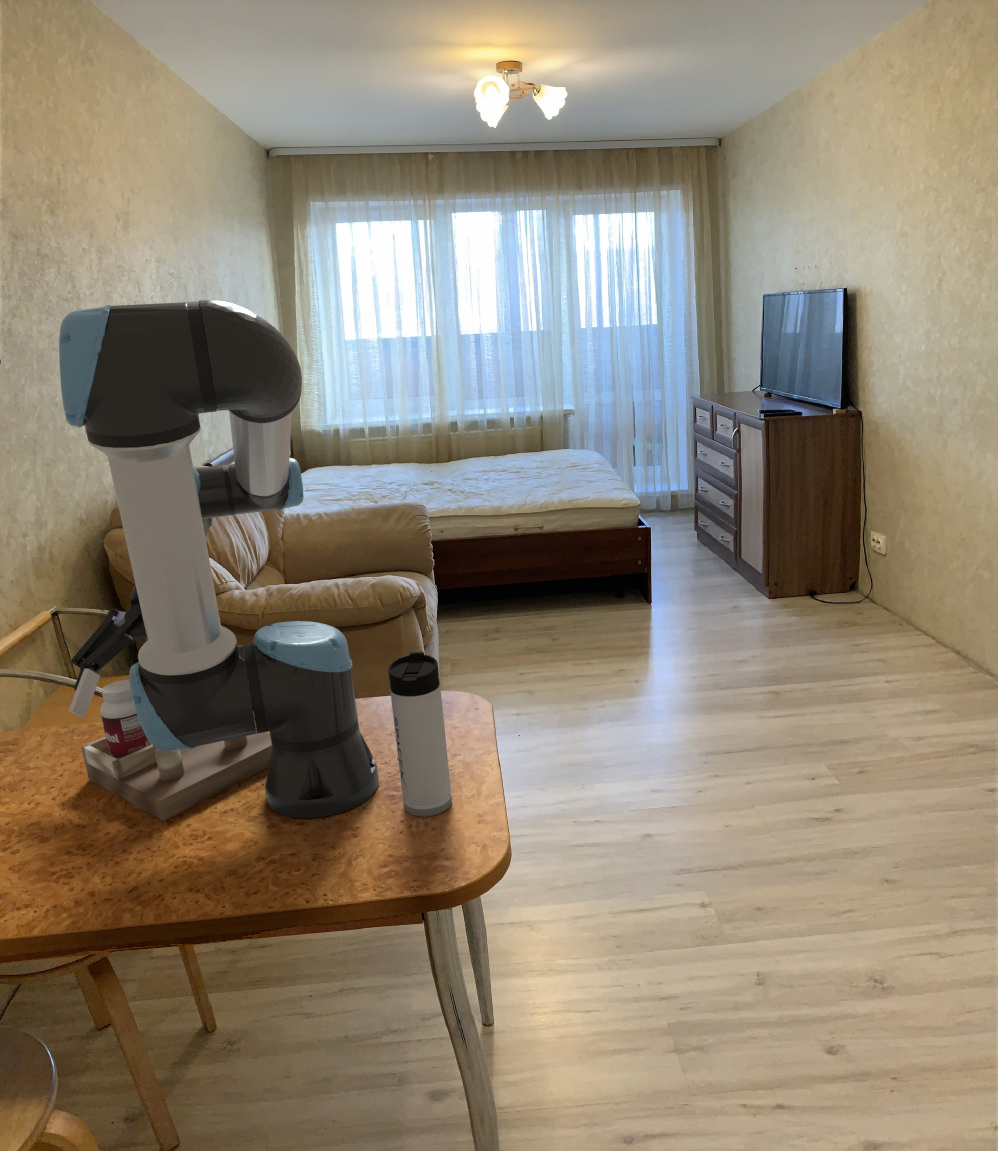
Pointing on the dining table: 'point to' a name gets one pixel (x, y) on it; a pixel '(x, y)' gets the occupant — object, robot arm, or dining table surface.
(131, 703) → the pill bottle
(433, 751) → the travel mug
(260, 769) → the wooden organizer tray
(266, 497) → the robot arm
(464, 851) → the dining table surface
